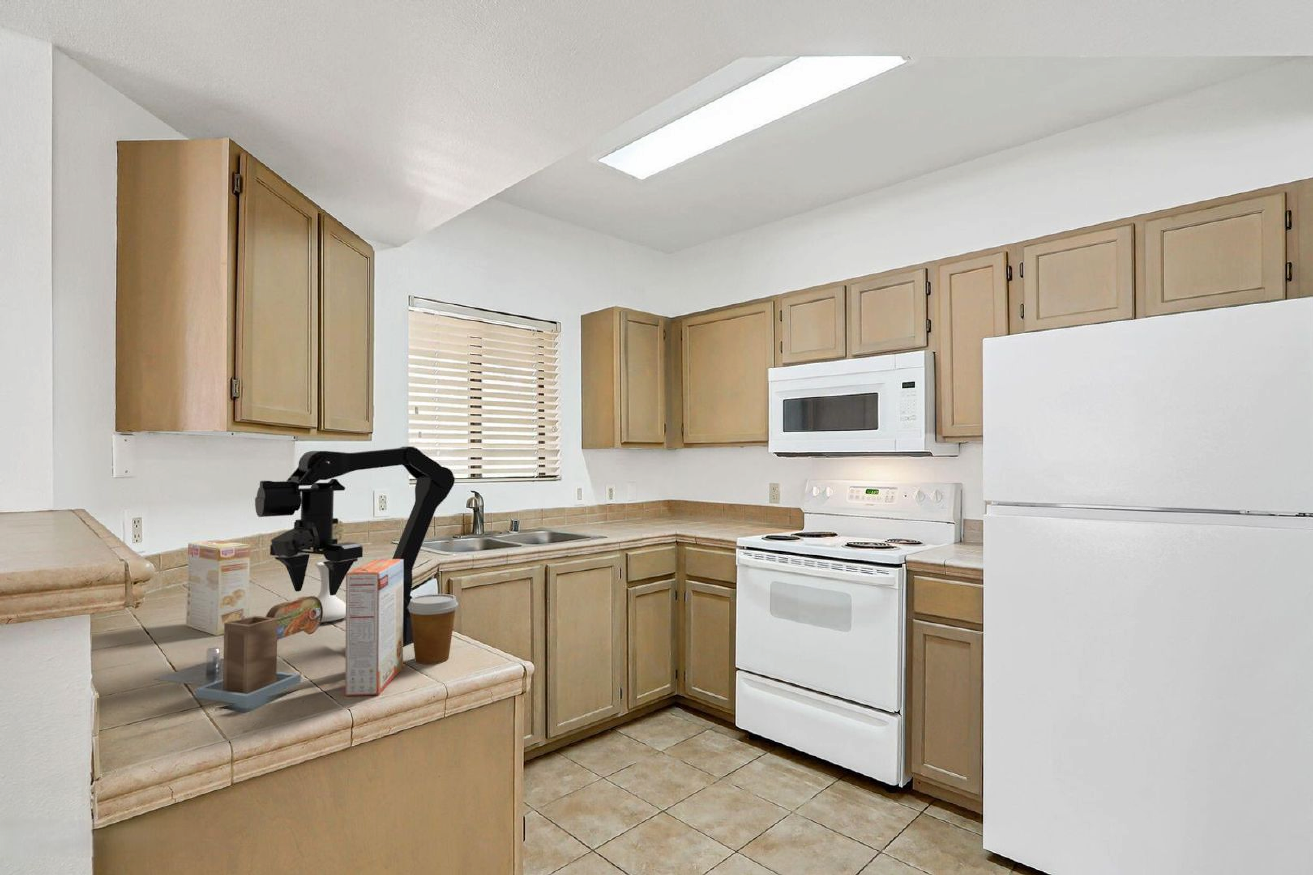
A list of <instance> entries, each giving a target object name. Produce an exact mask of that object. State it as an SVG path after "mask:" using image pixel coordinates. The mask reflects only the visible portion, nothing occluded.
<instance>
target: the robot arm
mask: <svg viewBox="0 0 1313 875" xmlns="http://www.w3.org/2000/svg"><path fill="white" fill-rule="evenodd" d="M395 466H403V468H405V470H406V471H407V472H408V473H409V474H410V476H412V478H414V479H415V480H416V481H415V487H414V496H415V498H414V500H415V501H414V504H413V506H412V508H411V512H410V514H409V517H408V519H407V521H406V524H405V527H404V529H403V532H402V533H401V537H400V539H399V541H398V544H397V546H396V549H395V552H394V554H393V556H392V557H391V559H403V647H404V646H406V645H409V644H411V643H413V635H412V626H411V617H410V612H409V609H408V605H409V603H410V600H411V599H412V598H414V597H413V596H412V595H411V593H412V587H413V569H414V567H415V566H414V565H415V563H416V562H417V558H418V555H419V554H420V551H421V548H422V545H423V543H424V540H425V537H426V536H427V532H428V530H429V528H430V526H431V522H432V521H433V517H434V515H435V512H436V511H437V508H438V507H439V506H440V504H442V502H444V500H446V499H447V497H448V496H449V493H450V492H451V491H452V490H453V487H454V485H455V482H456V481H455V480H456V477H455V475H454V473H453V471H452V470H451V469H450V468H448V467H446V466H442V465H441V464H439V463H438V462H437V461H435V460H433V458H430V457H429V456H427V455H425V454H424V453H423V452H422V451H421V450H420V449H419V448H417V447H416V446H400V447H398V448H397V447H396V448H387V449H378V450H377V449H376V450H375V449H374V450H366V451H357V452H344V451H343V452H342V451H330V450H329V451H328V450H310V451H307V452H305V453H304V454H302V456H301V457H300V459H299V460H298V466H297V468H296V469H295V470H294V471H293V472H292V474H291V475H290V476H289V477H288V479H286V480H285V481H284V480H282V481H272V480H260V481H259V488H258V489H257V492H256V496H255V498H254V507H255V513H256V515H257V517H258V518H263V517H265V518H267V517H281V516H282V517H283V516H286V517H287V516H293V515H294V514H295V513H296V512H297V511H299V510H300V519H295V521H294V524H293V528H292V529H289V530H288V531H285V532H283V533H281V534H279V535H277V536H275V537H273V538H272V539H271V540H270V541H271V544H270V546H269V555H270V556H274V559H275V560H276V561H279V562H281V563H282V564H283V565H284V566H285V568H286V571H287V573H288V575H289V578H290V580H291V583H292V587H293V589H294V592H297V593H298V592H301V591H302V588H303V585H304V583H305V577H306V574H307V568H308V564H309V560H310V555H312V554H313V555H322V556H323V557H324V558H325V560H326V561H322V562H323V563H324V564H325V566H326V567H327V568H328V570H329V591H330V595H331V596H332V595H335V596H336V595H337V593H338V591H339V589H340V586H342V584H343V581H344V579H346V574H347V573H348V572H350V571H349V570H350V569H351V567H352V566H353V564H354V563H356V562H358V560H359V559H360V558H363V553H364V552H363V550H364V549H363V548H364V547H363V546H362V544H360V542H347V541H345V542H338V543H337V539H333V524H337V523H338V520H339V518H338V517H334V495H335V492H336V491H338V492H340V491H345V490H346V487H345V486H344V485H343V484H341V483H340V482H339V480H338V479H337V478H339V477H341V476H343V475H347V474H348V473H352V472H354V471H362V470H370V469H377V468H387V467H395ZM336 477H337V478H336ZM327 480H329V481H327ZM319 481H327V482H319ZM300 486H301V488H300ZM304 486H308V487H305V488H304ZM309 486H310V487H309ZM302 487H303V488H302ZM329 560H330V561H329Z"/></svg>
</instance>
